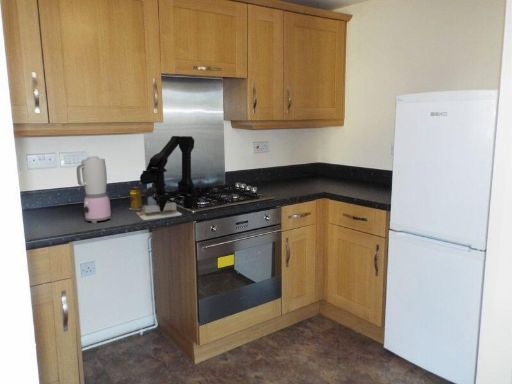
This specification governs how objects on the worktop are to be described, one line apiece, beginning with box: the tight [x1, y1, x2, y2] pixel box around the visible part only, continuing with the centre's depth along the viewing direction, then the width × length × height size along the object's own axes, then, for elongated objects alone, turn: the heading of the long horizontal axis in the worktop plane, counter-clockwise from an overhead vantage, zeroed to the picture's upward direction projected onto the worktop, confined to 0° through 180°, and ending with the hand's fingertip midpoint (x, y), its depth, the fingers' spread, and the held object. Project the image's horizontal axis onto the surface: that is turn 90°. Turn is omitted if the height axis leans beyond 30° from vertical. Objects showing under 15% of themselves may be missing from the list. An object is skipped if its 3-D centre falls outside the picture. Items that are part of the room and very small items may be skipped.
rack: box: [136, 201, 178, 217], centre depth 228 cm, size 20×6×5 cm, turn 118°
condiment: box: [128, 186, 143, 211], centre depth 240 cm, size 7×8×12 cm
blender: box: [76, 155, 112, 224], centre depth 211 cm, size 16×12×32 cm
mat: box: [140, 210, 183, 221], centre depth 222 cm, size 20×8×1 cm, turn 118°
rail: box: [144, 202, 177, 213], centre depth 221 cm, size 16×3×3 cm, turn 118°
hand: (160, 211), depth 222 cm, fingers closed on rail, 3 cm apart
